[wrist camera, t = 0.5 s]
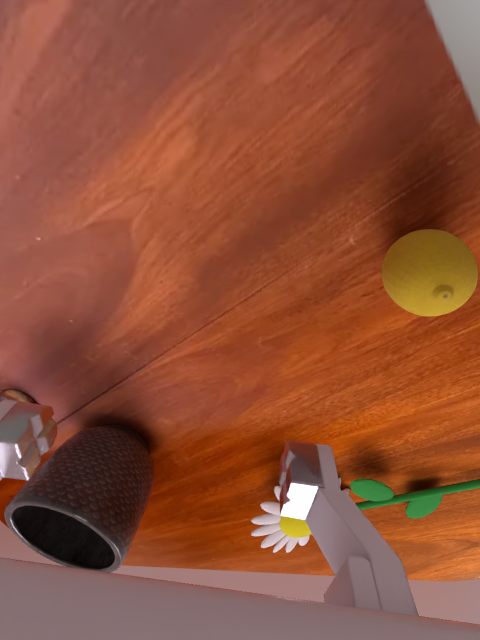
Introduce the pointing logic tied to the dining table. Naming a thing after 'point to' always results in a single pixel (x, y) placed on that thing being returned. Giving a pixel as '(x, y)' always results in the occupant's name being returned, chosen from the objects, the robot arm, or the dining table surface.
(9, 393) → the pastry
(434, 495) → the decorative flower
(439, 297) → the lemon
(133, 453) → the planter
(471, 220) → the dining table surface
